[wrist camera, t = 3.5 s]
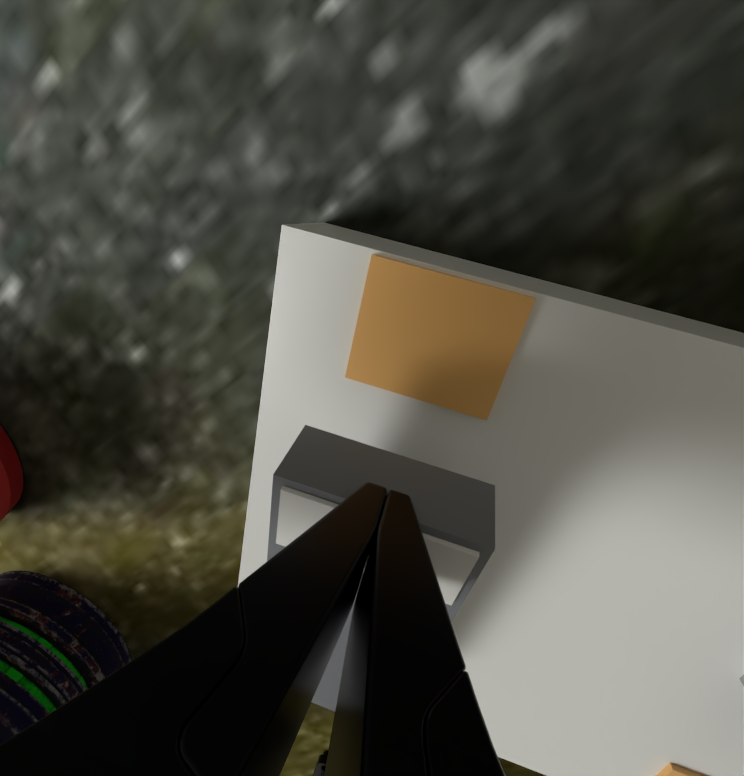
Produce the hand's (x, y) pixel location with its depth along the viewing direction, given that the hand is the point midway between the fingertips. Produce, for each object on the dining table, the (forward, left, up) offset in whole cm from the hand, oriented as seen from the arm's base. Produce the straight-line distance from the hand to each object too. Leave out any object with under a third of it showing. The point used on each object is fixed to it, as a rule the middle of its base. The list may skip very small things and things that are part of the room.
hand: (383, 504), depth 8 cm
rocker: (-4, 0, -1) cm, 4 cm away
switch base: (-4, -6, -6) cm, 9 cm away
